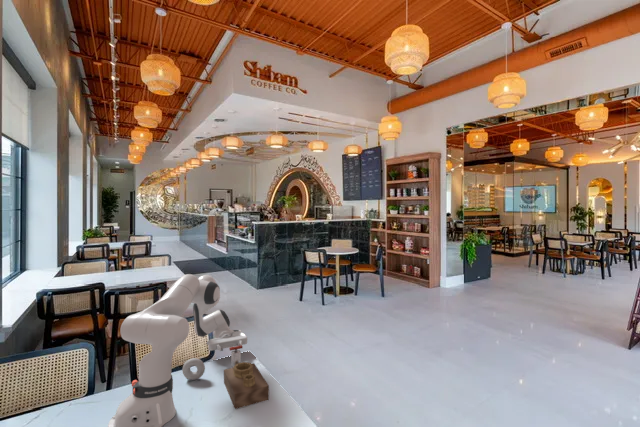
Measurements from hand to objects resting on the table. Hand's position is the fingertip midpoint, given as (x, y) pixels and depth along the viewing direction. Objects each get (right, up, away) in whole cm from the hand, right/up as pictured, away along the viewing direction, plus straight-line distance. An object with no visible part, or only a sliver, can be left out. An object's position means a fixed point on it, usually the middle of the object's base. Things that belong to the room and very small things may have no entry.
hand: (230, 347), depth 169 cm
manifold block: (+14, -8, -27) cm, 31 cm away
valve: (+5, -8, -11) cm, 14 cm away
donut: (-12, -8, -18) cm, 23 cm away
